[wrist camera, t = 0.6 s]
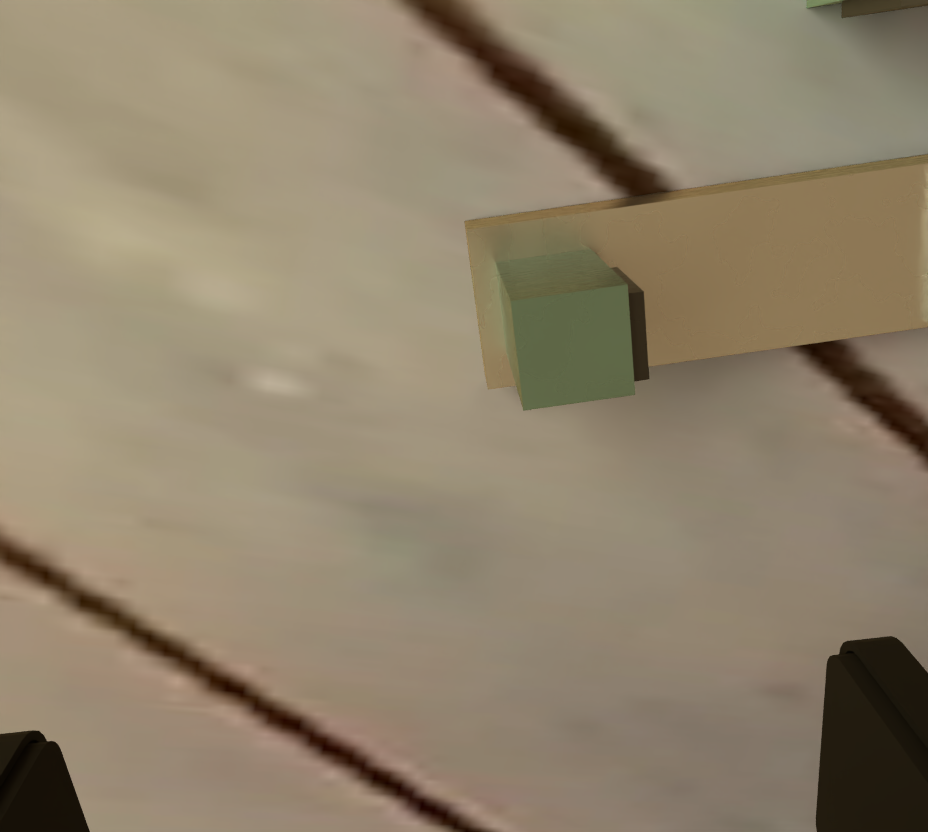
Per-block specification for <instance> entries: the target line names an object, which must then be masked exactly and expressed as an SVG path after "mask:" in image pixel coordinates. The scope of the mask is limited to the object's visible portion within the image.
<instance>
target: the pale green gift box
mask: <svg viewBox="0 0 928 832" xmlns="http://www.w3.org/2000/svg"><path fill="white" fill-rule="evenodd" d="M838 3H842V18H846V17H853V16H860V15H866V14H873V13H880V12H887V11H894V10H900V9H907V8H914V7H921V6H927V5H928V0H807V8H811V7H818V6H824V5H831V4H838Z"/></svg>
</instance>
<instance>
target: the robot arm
mask: <svg viewBox="0 0 928 832" xmlns="http://www.w3.org/2000/svg"><path fill="white" fill-rule="evenodd" d="M816 828H817V832H928V673H927V671H926V670H925V669H924V668H923V667H922V666H921V664H920V663H919V662H918V661H917V660H916V659H915V657H914V656H913V655H912V654H911V653H910V652H909V650H908V649H907V648H906V647H905V646H904V644H903V643H902V642H900V641H899V640H898V639H897V638H895V637H892V636H889V637H880V638H871V639H862V640H853V641H847V642H844V643H843V644H842V646H841V648H840V653H839V655H832V656H830V657H829V659H828V661H827V669H826V683H825V697H824V711H823V725H822V739H821V753H820V767H819V781H818V796H817V810H816ZM0 832H90V831H89V828H88V826H87V823H86V820H85V817H84V814H83V811H82V809H81V806H80V803H79V800H78V797H77V794H76V792H75V789H74V786H73V783H72V780H71V777H70V775H69V772H68V769H67V766H66V763H65V760H64V758H63V755H62V752H61V749H60V747H59V745H58V744H57V743H56V742H54V741H48V742H47V741H46V739H45V737H44V735H43V734H42V733H41V732H39V731H34V730H33V731H24V732H15V733H6V734H0Z"/></svg>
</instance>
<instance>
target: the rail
mask: <svg viewBox="0 0 928 832" xmlns="http://www.w3.org/2000/svg"><path fill="white" fill-rule="evenodd" d="M464 223H465V230H466V237H467V245H468V252H469V260H470V267H471V275H472V282H473V290H474V297H475V305H476V312H477V319H478V327H479V334H480V342H481V349H482V357H483V364H484V372H485V377H486V382H487V387H488V389H495V388H502V387H509V386H516V387H517V390H518V394H519V397H520V400H521V404H522V407H523V411H524V410H531V409H538V408H545V407H552V406H559V405H566V404H573V403H580V402H587V401H594V400H601V399H608V398H615V397H623V396H630V395H635V386H634V381H639V380H646V379H649V368H648V367H650V366H657V365H664V364H671V363H678V362H685V361H692V360H699V359H706V358H713V357H720V356H727V355H734V354H741V353H748V352H755V351H762V350H769V349H777V348H784V347H791V346H798V345H805V344H812V343H819V342H826V341H833V340H840V339H847V338H854V337H861V336H868V335H875V334H882V333H889V332H896V331H903V330H910V329H917V328H925V327H928V154H925V155H918V156H911V157H905V158H898V159H891V160H884V161H877V162H870V163H863V164H856V165H849V166H842V167H835V168H828V169H821V170H814V171H808V172H801V173H794V174H787V175H780V176H773V177H766V178H759V179H752V180H745V181H738V182H731V183H724V184H718V185H711V186H704V187H697V188H690V189H683V190H676V191H669V192H662V193H655V194H648V195H641V196H634V197H628V198H621V199H614V200H607V201H600V202H593V203H586V204H579V205H572V206H565V207H558V208H551V209H544V210H538V211H531V212H524V213H517V214H510V215H503V216H496V217H489V218H482V219H475V220H468V221H464Z"/></svg>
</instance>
